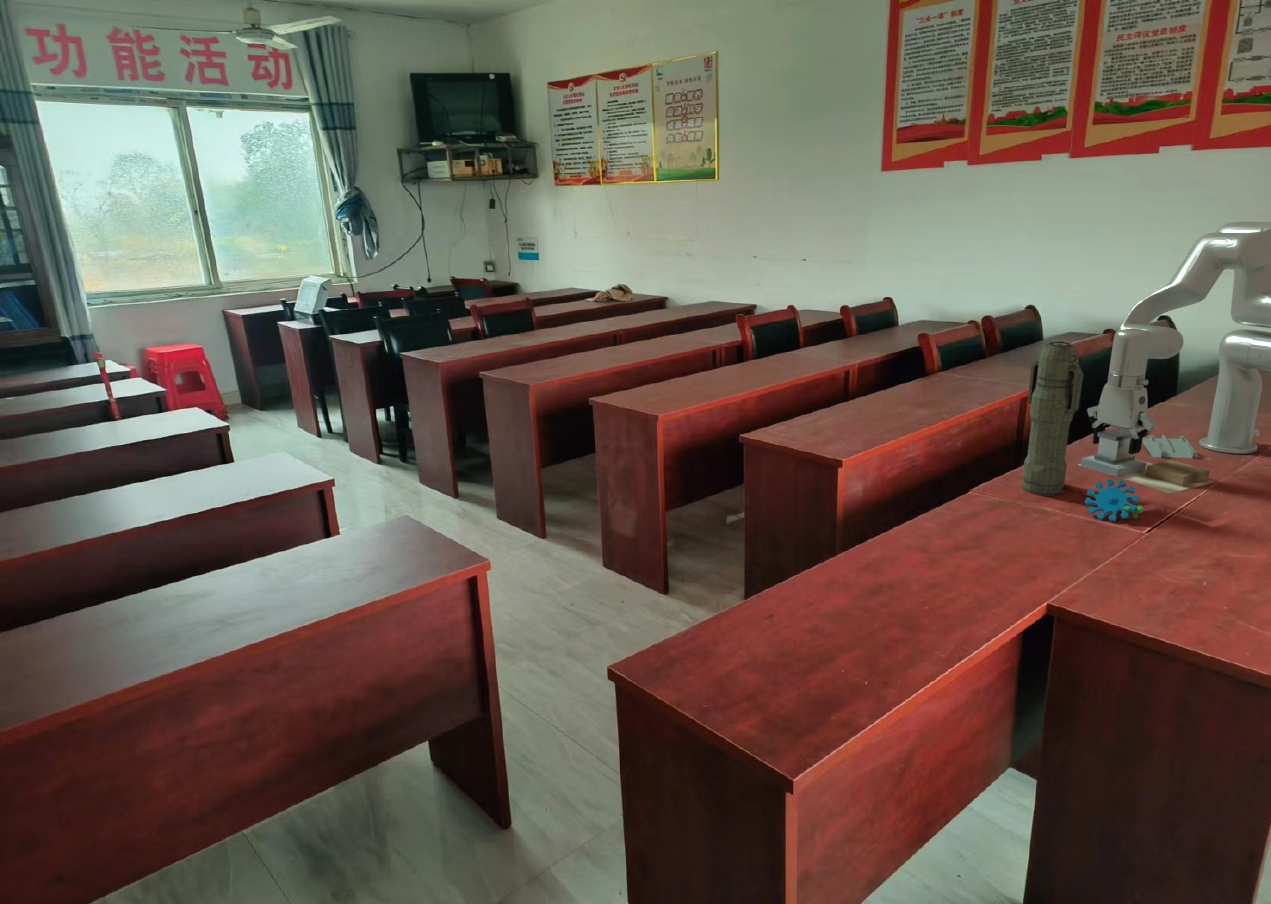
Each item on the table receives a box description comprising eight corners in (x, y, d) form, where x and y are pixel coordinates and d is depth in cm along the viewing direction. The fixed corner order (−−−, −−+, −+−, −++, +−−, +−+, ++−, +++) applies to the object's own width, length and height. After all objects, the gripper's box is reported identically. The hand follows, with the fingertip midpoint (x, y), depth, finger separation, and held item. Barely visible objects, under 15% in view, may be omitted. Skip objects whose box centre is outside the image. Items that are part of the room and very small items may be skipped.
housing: (1116, 454, 202) (1120, 427, 200) (1134, 459, 197) (1139, 432, 195) (1093, 459, 199) (1097, 432, 197) (1112, 464, 195) (1116, 437, 192)
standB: (1108, 459, 205) (1109, 451, 204) (1145, 470, 196) (1146, 461, 196) (1080, 465, 201) (1081, 457, 201) (1117, 476, 193) (1118, 468, 192)
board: (1120, 458, 208) (1121, 454, 208) (1214, 485, 187) (1215, 481, 187) (1076, 468, 203) (1077, 464, 202) (1169, 497, 181) (1169, 493, 181)
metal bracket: (1133, 430, 213) (1195, 431, 210) (1127, 448, 216) (1188, 449, 214) (1153, 461, 201) (1218, 462, 199) (1146, 479, 205) (1211, 480, 202)
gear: (1075, 507, 174) (1100, 470, 175) (1079, 519, 178) (1103, 483, 179) (1127, 528, 166) (1153, 490, 167) (1130, 540, 170) (1155, 503, 171)
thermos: (1057, 500, 182) (1076, 349, 172) (1008, 487, 191) (1024, 343, 181) (1077, 491, 187) (1097, 344, 176) (1028, 479, 196) (1045, 338, 186)
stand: (1170, 469, 196) (1172, 460, 195) (1207, 480, 188) (1209, 470, 187) (1145, 475, 193) (1147, 465, 192) (1182, 486, 185) (1184, 476, 184)
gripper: (1171, 385, 186) (1159, 455, 191) (1104, 372, 201) (1094, 437, 206) (1149, 389, 183) (1138, 459, 188) (1082, 376, 198) (1074, 441, 204)
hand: (1115, 448), depth 197 cm, fingers open, 9 cm apart
